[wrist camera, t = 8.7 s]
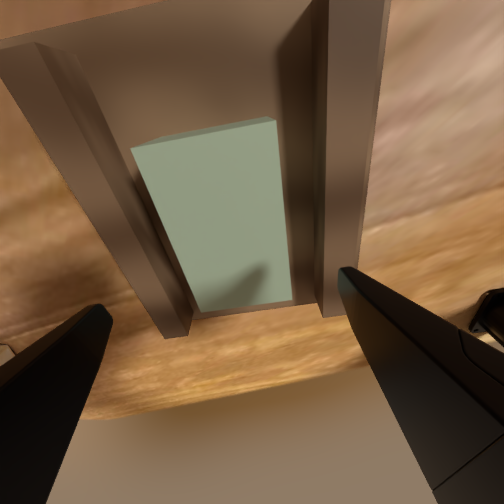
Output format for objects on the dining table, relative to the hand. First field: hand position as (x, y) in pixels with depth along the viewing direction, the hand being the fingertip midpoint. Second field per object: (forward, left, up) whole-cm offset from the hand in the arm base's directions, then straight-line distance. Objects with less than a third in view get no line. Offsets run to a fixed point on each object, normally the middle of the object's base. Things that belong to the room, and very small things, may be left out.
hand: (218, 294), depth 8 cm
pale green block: (0, 0, -8) cm, 8 cm away
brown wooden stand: (0, 0, -10) cm, 10 cm away
